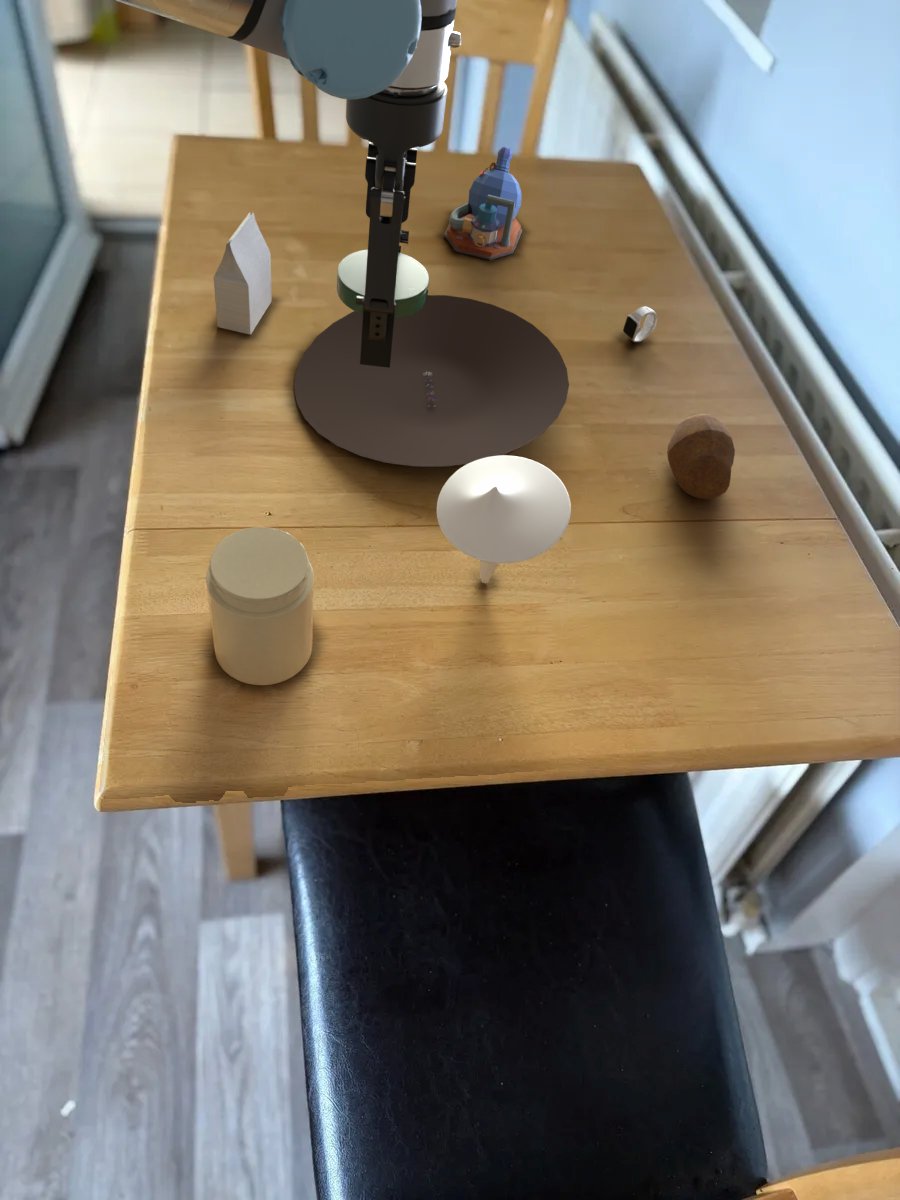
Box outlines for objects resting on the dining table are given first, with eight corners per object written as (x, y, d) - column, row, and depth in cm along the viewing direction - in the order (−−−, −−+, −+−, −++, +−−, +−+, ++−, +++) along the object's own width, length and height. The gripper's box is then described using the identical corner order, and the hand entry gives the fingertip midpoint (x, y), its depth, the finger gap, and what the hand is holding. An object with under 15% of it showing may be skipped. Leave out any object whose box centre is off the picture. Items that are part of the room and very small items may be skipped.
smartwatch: (643, 330, 107) (652, 300, 104) (654, 340, 106) (664, 311, 103) (619, 337, 106) (628, 307, 102) (630, 347, 105) (640, 318, 101)
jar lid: (435, 279, 84) (438, 261, 82) (416, 328, 79) (418, 308, 77) (350, 260, 84) (351, 240, 83) (325, 306, 79) (326, 287, 77)
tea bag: (271, 301, 101) (269, 216, 93) (250, 334, 97) (246, 248, 89) (239, 293, 101) (235, 208, 94) (217, 326, 97) (210, 239, 89)
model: (459, 203, 120) (469, 132, 113) (526, 220, 120) (541, 150, 113) (437, 247, 113) (447, 173, 106) (509, 265, 112) (523, 192, 105)
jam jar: (199, 672, 69) (187, 588, 62) (233, 599, 74) (226, 512, 66) (296, 695, 69) (295, 614, 61) (323, 620, 74) (326, 536, 66)
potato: (667, 508, 88) (688, 460, 83) (651, 441, 94) (670, 393, 89) (732, 513, 89) (757, 466, 84) (712, 447, 95) (734, 399, 90)
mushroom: (473, 648, 74) (498, 550, 65) (401, 561, 79) (415, 458, 70) (568, 600, 79) (604, 502, 70) (495, 521, 84) (520, 420, 75)
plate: (294, 306, 101) (294, 276, 98) (538, 320, 106) (544, 292, 103) (292, 481, 84) (292, 451, 81) (583, 488, 88) (593, 460, 85)
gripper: (445, 145, 61) (413, 411, 78) (450, 29, 74) (422, 278, 92) (333, 130, 60) (326, 401, 78) (359, 15, 74) (348, 269, 91)
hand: (378, 334), depth 85 cm, fingers closed on jar lid, 8 cm apart
